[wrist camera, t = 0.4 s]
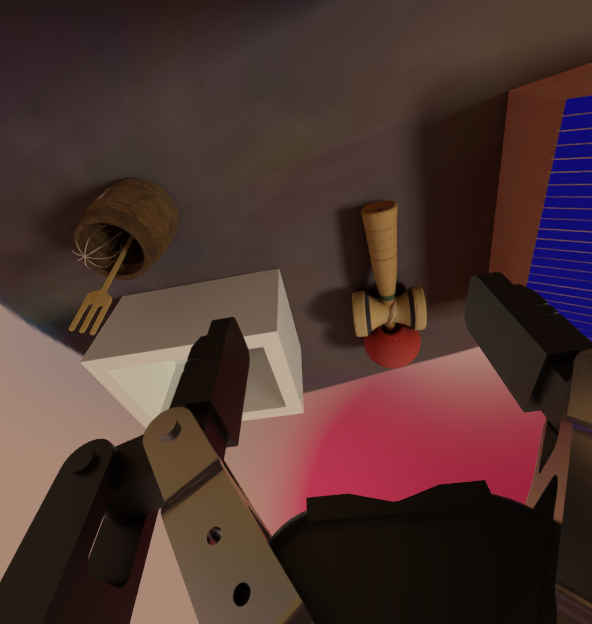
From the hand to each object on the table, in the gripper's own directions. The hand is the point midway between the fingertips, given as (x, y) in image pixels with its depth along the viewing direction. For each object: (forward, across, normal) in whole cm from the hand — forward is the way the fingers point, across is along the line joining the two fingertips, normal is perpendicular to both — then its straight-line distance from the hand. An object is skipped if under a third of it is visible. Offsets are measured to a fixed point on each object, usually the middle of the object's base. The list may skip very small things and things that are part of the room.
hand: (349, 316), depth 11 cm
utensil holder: (+19, +15, 0) cm, 24 cm away
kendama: (+20, -5, +12) cm, 23 cm away
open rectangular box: (+19, +14, +14) cm, 27 cm away
